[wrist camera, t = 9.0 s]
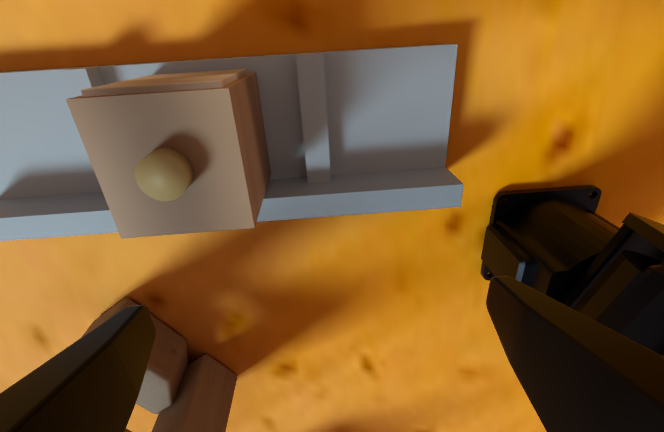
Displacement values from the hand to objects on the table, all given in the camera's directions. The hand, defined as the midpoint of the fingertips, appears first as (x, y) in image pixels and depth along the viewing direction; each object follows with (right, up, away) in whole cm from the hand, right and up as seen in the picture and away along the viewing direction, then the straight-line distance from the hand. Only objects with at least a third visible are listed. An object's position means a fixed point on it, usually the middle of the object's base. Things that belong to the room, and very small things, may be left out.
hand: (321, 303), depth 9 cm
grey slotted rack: (-6, +7, +10) cm, 13 cm away
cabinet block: (-6, +7, +8) cm, 12 cm away
